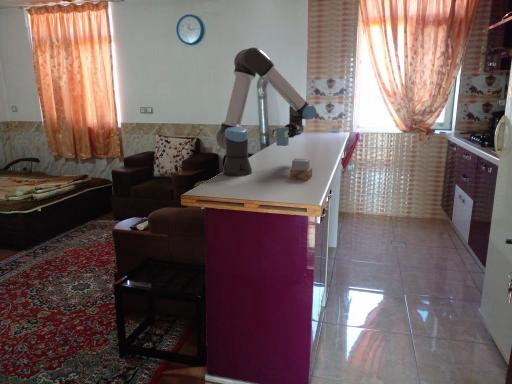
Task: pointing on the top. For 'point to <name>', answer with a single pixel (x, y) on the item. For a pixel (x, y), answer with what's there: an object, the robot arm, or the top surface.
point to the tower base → (301, 174)
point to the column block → (282, 136)
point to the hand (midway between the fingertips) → (279, 134)
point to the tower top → (301, 164)
